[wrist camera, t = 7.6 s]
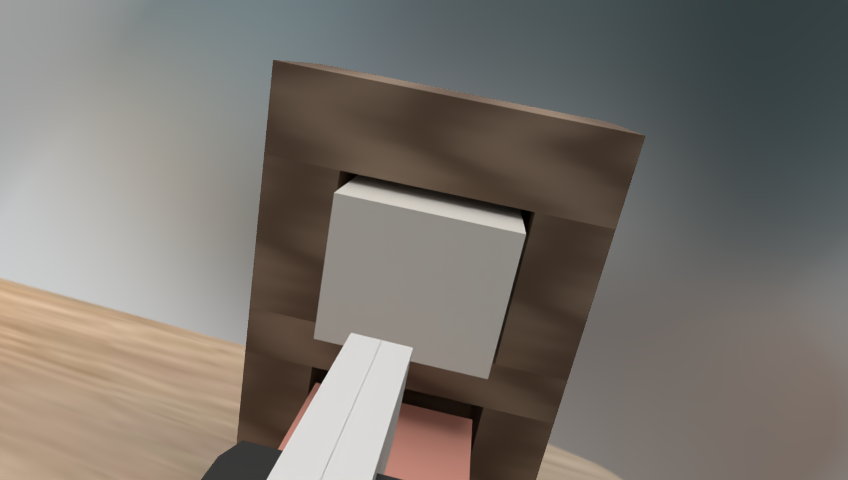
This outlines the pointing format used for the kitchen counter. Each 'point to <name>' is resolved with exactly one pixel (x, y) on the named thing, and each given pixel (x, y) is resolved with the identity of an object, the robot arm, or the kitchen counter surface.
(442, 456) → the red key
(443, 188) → the key panel
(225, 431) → the kitchen counter surface
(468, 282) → the white key
